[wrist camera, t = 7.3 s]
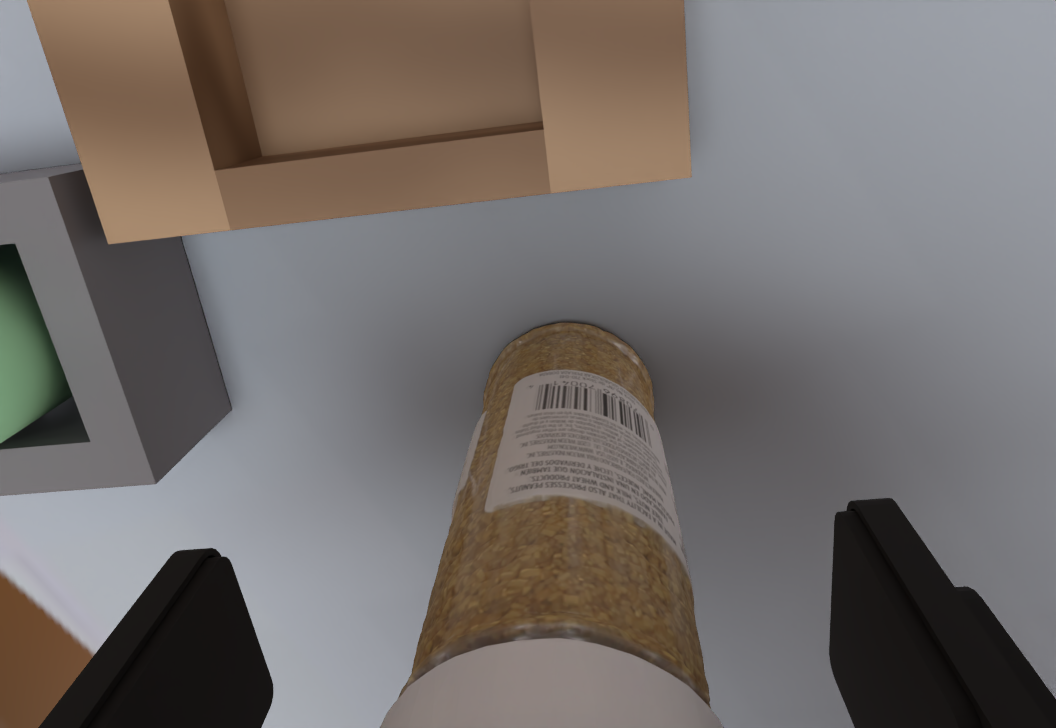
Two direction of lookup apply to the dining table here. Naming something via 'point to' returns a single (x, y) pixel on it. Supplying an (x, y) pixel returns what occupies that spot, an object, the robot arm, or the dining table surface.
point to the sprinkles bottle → (561, 557)
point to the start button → (25, 352)
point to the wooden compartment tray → (360, 104)
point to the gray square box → (107, 344)
